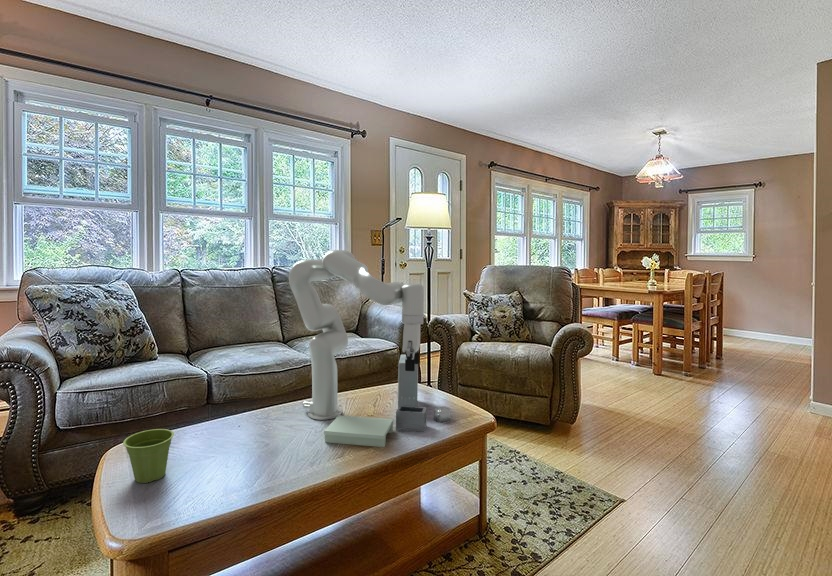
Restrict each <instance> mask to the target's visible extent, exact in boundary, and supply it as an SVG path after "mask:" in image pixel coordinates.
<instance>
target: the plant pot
mask: <svg viewBox="0 0 832 576" xmlns="http://www.w3.org/2000/svg"><path fill="white" fill-rule="evenodd" d="M174 436H175V432H174V431H172V430H170V429H166V428H156V429H155V428H153V429H148V430H143V431H142V430H141V431H139V432H136V433H134V434H131V435H130V436H127V437H126V438H125V439H124V440H123V441H122V443H123V444H122V445H123V446H124V447H125V448H126V451H127V454H128V456H129V461H130V465H131V468H132V474H133V477H134V480H135V482H137V483H139V484H148V482H149V483H151V482H153V481H158V480H160V479H162V478H163V477H165V475H166V471H167V465H168V459H169V458H168V457H169V452H170V446H171V444H172V438H173V437H174Z"/></svg>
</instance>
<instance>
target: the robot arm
mask: <svg viewBox="0 0 832 576" xmlns="http://www.w3.org/2000/svg"><path fill="white" fill-rule="evenodd" d="M334 277H338V278H341V279H342V280H344V281H346V283H347V282H348V283H349V284H351V285H353V286H354V287H355V288H356V289H357V291H359V292H360V293H361V295H363V296H364V297H366V298H368V299H370V300H371V301H373V302H374V303H376V304H379V305H381V306H390V305H394V304H401V307H402V308H401V324H403V333H402V353H404V354H405V355H406V358H405V371H414V370H415V364H418V365H419V364H420V347H421V325H423V324H424V313H425V311H424V309H425V308H424V306H425V305H424V304H425V303H424V301H425V299H424V297H425V296H424V295H425V289H424V286H423V284H420V283H403V282H399V281H397V282H395V281H394V282H387V283H386V282H384V281H381V280H380V279H378V278H376V277H374V276H373V275H372V274H371V273H369V267H368V266H367V265H366V264H365V263H363V262H360V261H358V260H357V259H356V257H355V254H353V253H352V252H351V251H349V250H343V249H339V250H338V249H333V250H330V251H327V252H326V253H325V255H323V258H317V259H314V258H313V259H302V260H298V261H297V262H296V263H294V264H293V266H292V267H291V268H290V270H289V274H288V284H289V287H290V290H291V292H292V294H293V296H294V298H295V301H296V304H297V307H298V310H299V312H300V316H301V319H302V321H303V324H304V326H305V327H306V329H307V330H308V331H310V332H317V331H321V330H322V332H320V333H318V334H316V335H314V337H312V338H311V340H310V341H309V346H308V349H309V355H310V360H311V385H312V386H311V389H312V390H311V392H312V394H311V401H303V403H302V407H303V409H308V410H309V411H307V412H308V418H311V419H314V420H319V421H320V420H322V421H325V420H331V419H336V418H337V416H338V415H342V412H343V410H342V408H341V407H339V406H338V365H337V361H336V358H335V355H338V354H339V353H342V352H343V351H345V350H346V349H347V347H348V345H349V338H348V335H347V334H348V333H347V332H346V328H345V326H344V323H343V321H342V317H341V315H340V313H339V311H338V309H337V308H336V307H335V306H334V305H332V304H329V303H322V302H321V298H320V297H319V294H318V292H317V290H316V288H315V287H314V286H313V285H312V282H323V281H327V280H329V279H333V278H334Z"/></svg>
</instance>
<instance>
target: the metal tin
mask: <svg viewBox="0 0 832 576" xmlns="http://www.w3.org/2000/svg"><path fill="white" fill-rule="evenodd" d="M433 413H434V414H433V420H434V421H435V422H436V423H437V422H438V423H440V424H441V423H443V422H446V423H449V422H451V408H449V407H447V406H437V407H435V408H434V410H433ZM448 421H449V422H448ZM443 424H444V423H443Z"/></svg>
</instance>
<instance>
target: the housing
mask: <svg viewBox="0 0 832 576" xmlns="http://www.w3.org/2000/svg"><path fill="white" fill-rule="evenodd" d="M427 417H428V416H427V406H426V407H425V406H417V407H413V406H399V407H398V406H397V409H396V411H395V431H398V432H408V433H409V432H411V433H422V434H423V433H425V431H426V428H427Z"/></svg>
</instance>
